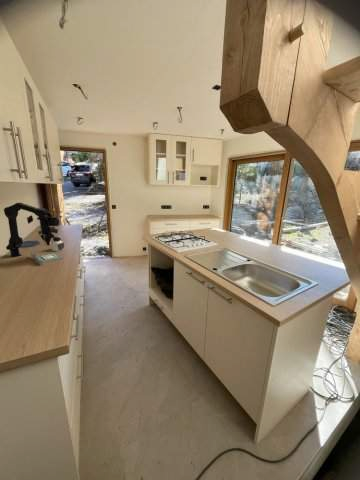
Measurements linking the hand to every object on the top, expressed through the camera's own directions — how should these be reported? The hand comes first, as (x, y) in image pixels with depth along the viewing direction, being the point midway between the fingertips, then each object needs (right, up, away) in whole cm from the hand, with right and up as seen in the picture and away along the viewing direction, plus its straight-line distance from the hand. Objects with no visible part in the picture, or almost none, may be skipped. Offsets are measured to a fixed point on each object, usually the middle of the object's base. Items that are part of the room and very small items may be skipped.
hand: (47, 244), depth 163 cm
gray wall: (-6, -12, -4) cm, 14 cm away
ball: (0, +1, 0) cm, 2 cm away
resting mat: (0, -11, +3) cm, 11 cm away
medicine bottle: (-5, -5, +23) cm, 24 cm away
